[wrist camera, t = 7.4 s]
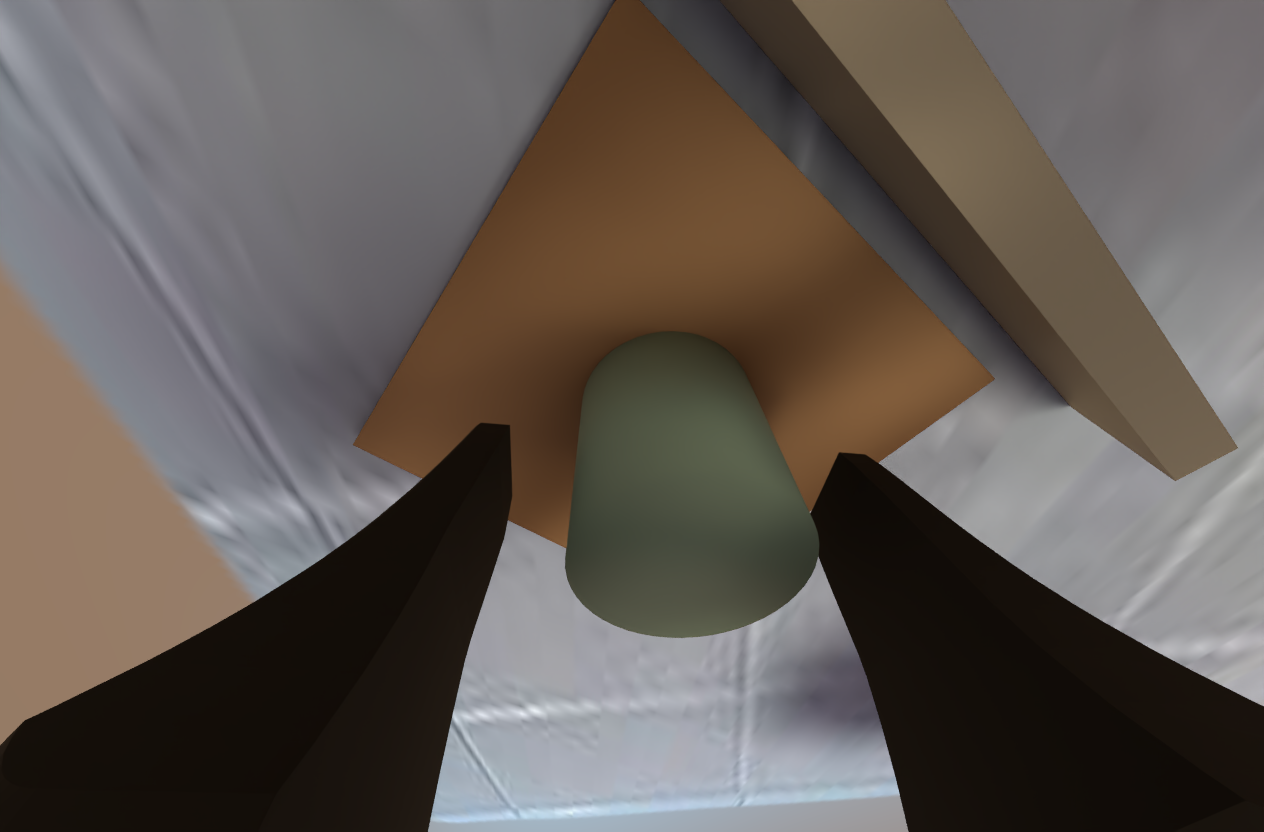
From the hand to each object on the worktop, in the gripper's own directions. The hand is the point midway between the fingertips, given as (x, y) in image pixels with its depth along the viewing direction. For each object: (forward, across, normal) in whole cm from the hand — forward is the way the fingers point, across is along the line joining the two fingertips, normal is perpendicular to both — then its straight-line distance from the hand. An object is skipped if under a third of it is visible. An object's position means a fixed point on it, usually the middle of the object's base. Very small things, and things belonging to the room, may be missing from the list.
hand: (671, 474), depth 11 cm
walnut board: (+3, 0, 0) cm, 3 cm away
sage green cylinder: (+2, 0, 0) cm, 2 cm away
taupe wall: (+3, -4, -6) cm, 8 cm away
